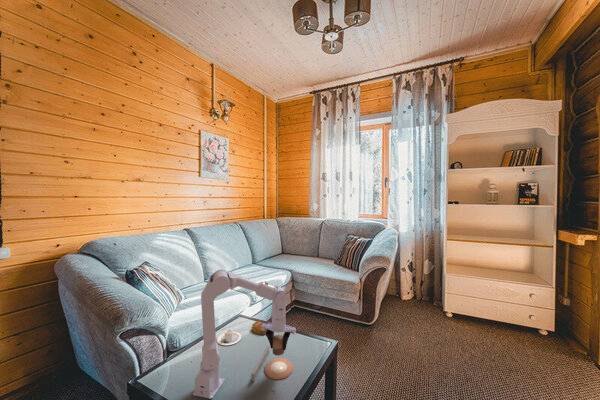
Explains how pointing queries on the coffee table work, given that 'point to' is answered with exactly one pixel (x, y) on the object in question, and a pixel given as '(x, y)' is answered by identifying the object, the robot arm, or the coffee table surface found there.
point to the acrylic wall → (260, 363)
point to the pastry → (258, 328)
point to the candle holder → (228, 337)
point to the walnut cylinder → (278, 345)
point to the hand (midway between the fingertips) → (278, 347)
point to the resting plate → (278, 368)
